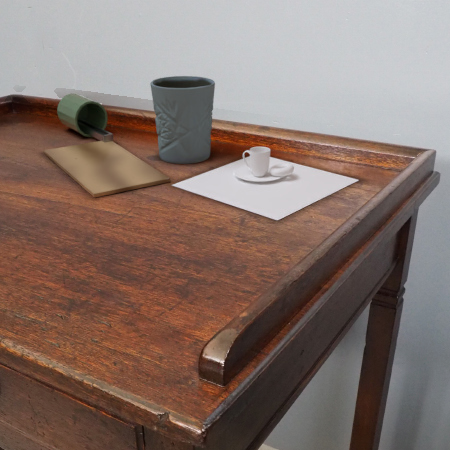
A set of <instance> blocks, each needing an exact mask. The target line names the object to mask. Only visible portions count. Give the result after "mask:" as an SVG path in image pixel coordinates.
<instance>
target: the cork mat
mask: <svg viewBox="0 0 450 450" xmlns="http://www.w3.org/2000/svg"><path fill="white" fill-rule="evenodd" d="M43 154H44V155H45V156H46V157H47V158H48V159H49V160H51V161H52V162H53V163H54V164H55V165H57V166H58V167H59V168H60V169H61V170H62V171H63V172H64V173H65V174H67V175H68V176H69V177H70V178H72V179H73V181H75V182H76V183H77V184H78V185H80V187H82V188H83V190H85V191H86V193H88V194H89V195H91V197H93V198H100V197H104V196H110V195H113V194H119V193H124V192H127V191H128V192H129V191H132V190H133V191H134V190H137V189H141V188H147V187H152V186H156V185H162V184H166V183H170V182H171V180H170V179H171V178H170V177H169V176H167V175H165V174H164V173H163V172H161V171H159V170H158V169H156V168H155V167H153V166H151V165H150V164H148V163H147V162H146V161H144V160H142V159H140V157H137V155H134V154H133V153H131V152H130V151H128V150H127V149H126V148H124V147H122V146H121V145H119V144H117V142H115V141H114V140H113V141H108V142H102V141H101V140H97V141H91V142H86V143H85V142H84V143H80V144H74V145H69V146H62V147H56V148H49V149H43Z"/></svg>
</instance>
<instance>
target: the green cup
mask: <svg viewBox="0 0 450 450" xmlns="http://www.w3.org/2000/svg"><path fill="white" fill-rule="evenodd" d="M56 109H57V110H56V115H57V117H58V119H59V121H60V123H61V124H62V125H63V126H65V127H66V128H68V129H70V130H72V131H74V132H76V133H77V134H79V135H81V136H83V137H85V138H86V137H87V138H94V137H93V136H91V135H89V134H87V133H85V132H83V131H81V130H80V128H79V127H78V124H77V121H78V122H80V119H83V120H85V121H87V122H89V123H91V124H94V125H96V126H98V127H100V128H102V129H104V130H106V127H107V125H108V122H109V121H108V120H109V118H108V112H107V110H106V109H105V107H104V105H102V104H101V103H100V102H98V101H96V100H93V99H91V98H89V97H86V96H84V95H81V94H78V93H68V94H65V95H64V96H63V97H62V98H61V99H60V100H59V102H58V104H57V107H56Z"/></svg>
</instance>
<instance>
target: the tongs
mask: <svg viewBox="0 0 450 450" xmlns="http://www.w3.org/2000/svg"><path fill="white" fill-rule="evenodd" d="M77 124H78V127H79V128H80V130H81V131H83V132H85V133H87V134H89V135H91V136H93V137H92V138H95V139H97V140H98V141H102V142H108V141H113V142H114V134H113V132H110V131H108V130H106V129H102V128H100V127H98V126H96V125H94V124H91V123H89V122H87V121H85V120H83V119H80V122H78V121H77Z"/></svg>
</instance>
